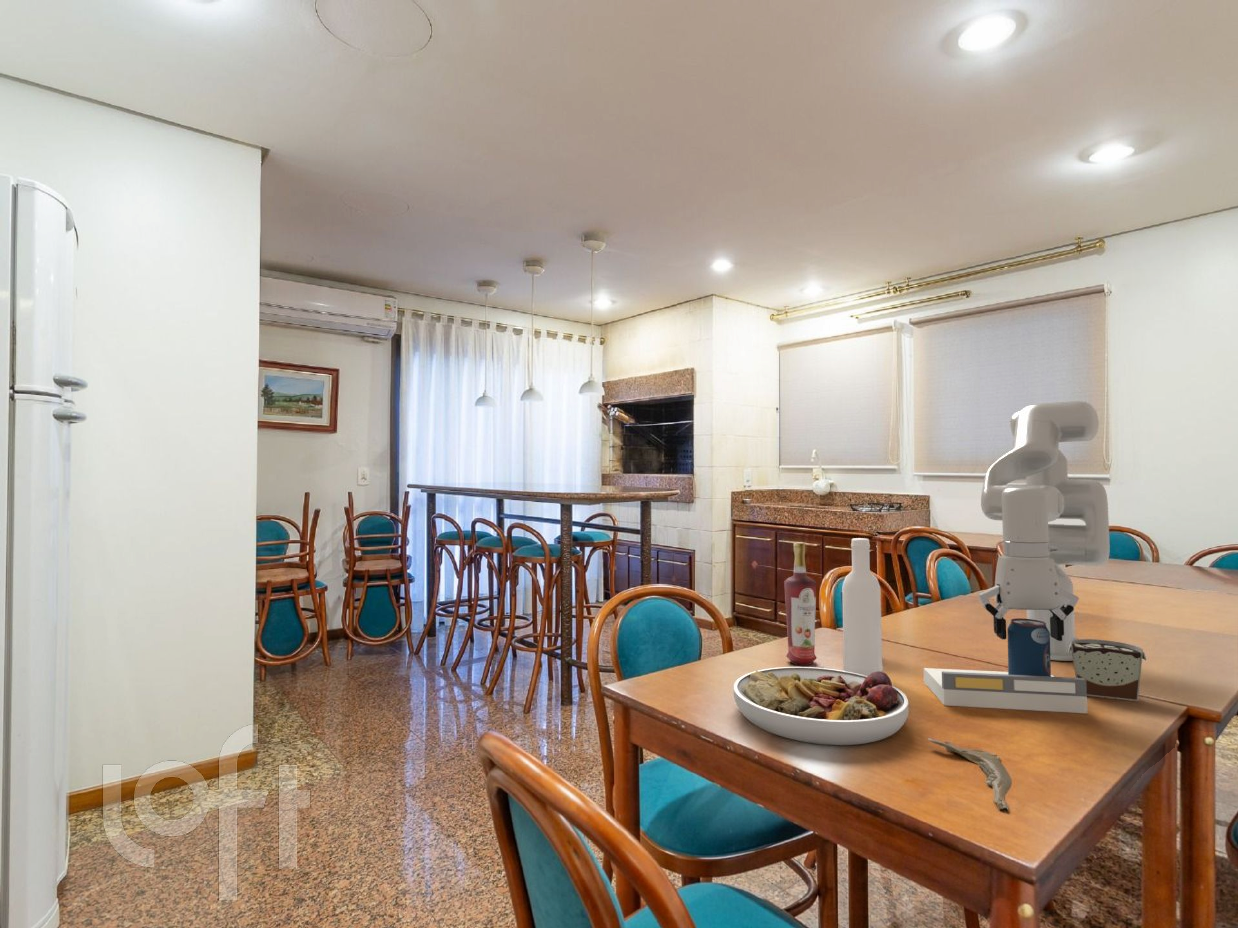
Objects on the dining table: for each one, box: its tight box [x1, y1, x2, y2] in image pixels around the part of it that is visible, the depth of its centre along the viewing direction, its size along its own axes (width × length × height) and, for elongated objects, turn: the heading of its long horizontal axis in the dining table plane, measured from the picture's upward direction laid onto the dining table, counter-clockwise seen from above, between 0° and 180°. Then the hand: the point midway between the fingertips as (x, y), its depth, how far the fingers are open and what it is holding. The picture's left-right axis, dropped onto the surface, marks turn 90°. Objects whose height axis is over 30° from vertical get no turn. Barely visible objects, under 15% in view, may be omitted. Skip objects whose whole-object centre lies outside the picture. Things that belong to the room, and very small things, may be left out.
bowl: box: [733, 666, 910, 746], centre depth 114 cm, size 30×30×8 cm
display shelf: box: [923, 667, 1088, 714], centre depth 124 cm, size 24×14×6 cm, turn 79°
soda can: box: [1006, 617, 1052, 677], centre depth 122 cm, size 7×7×12 cm
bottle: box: [841, 537, 884, 676], centre depth 137 cm, size 8×8×30 cm
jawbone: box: [926, 737, 1013, 813], centre depth 91 cm, size 9×20×2 cm, turn 0°
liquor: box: [783, 542, 817, 666], centre depth 149 cm, size 7×7×28 cm
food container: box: [1068, 638, 1147, 702], centre depth 126 cm, size 12×6×10 cm, turn 65°
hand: (1028, 638), depth 123 cm, fingers open, 9 cm apart
